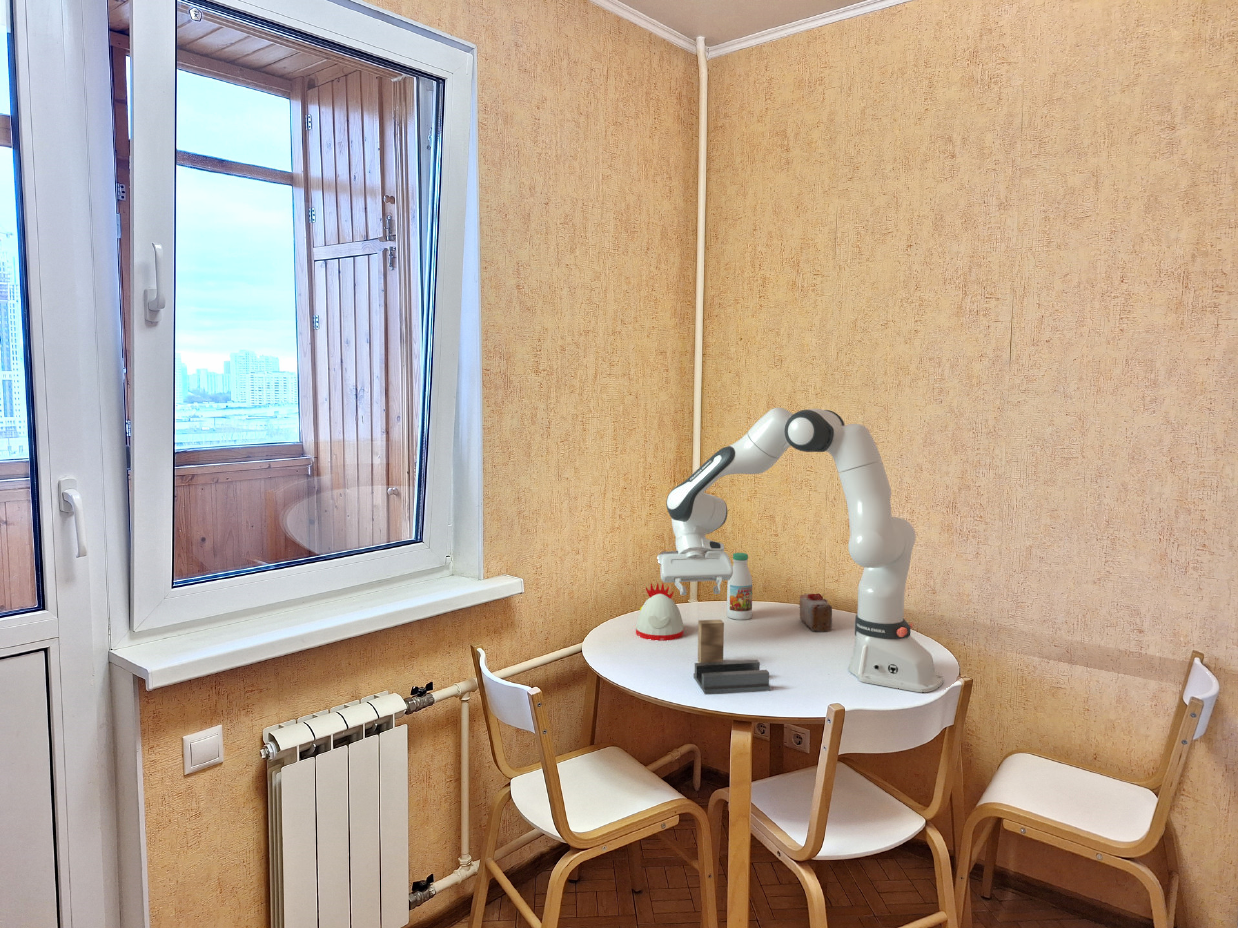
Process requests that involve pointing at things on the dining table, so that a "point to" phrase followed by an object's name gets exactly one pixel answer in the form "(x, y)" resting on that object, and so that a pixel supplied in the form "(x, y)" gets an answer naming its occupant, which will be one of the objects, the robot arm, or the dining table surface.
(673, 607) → the kitchen timer
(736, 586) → the milk bottle
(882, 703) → the dining table surface
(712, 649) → the wooden block
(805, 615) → the food item
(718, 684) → the door track
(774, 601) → the dining table surface
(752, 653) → the dining table surface
